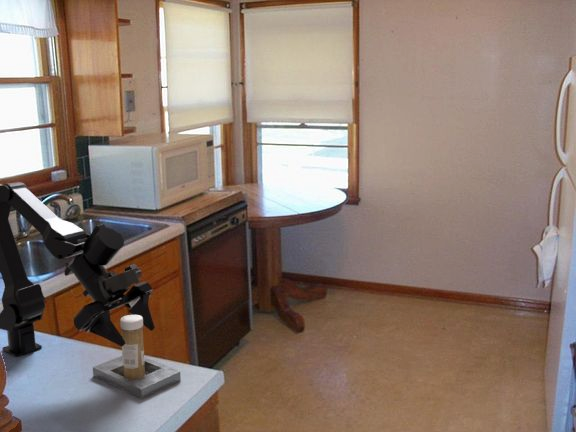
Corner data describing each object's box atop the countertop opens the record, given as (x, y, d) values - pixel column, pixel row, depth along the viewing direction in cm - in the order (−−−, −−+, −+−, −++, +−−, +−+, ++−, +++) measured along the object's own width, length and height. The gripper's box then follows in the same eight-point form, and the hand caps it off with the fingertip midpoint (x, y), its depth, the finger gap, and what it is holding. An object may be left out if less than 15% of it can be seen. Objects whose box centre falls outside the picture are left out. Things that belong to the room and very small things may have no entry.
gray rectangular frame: (93, 376, 127) (92, 367, 127) (131, 360, 135) (131, 351, 135) (141, 398, 118) (141, 389, 117) (180, 380, 126) (180, 371, 125)
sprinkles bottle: (150, 377, 127) (147, 316, 125) (134, 385, 123) (131, 323, 121) (133, 372, 129) (130, 312, 127) (118, 380, 125) (114, 319, 123)
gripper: (80, 266, 115) (129, 330, 112) (144, 245, 132) (187, 301, 129) (53, 299, 120) (99, 362, 117) (118, 275, 136) (159, 330, 134)
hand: (139, 337), depth 124 cm, fingers open, 9 cm apart
